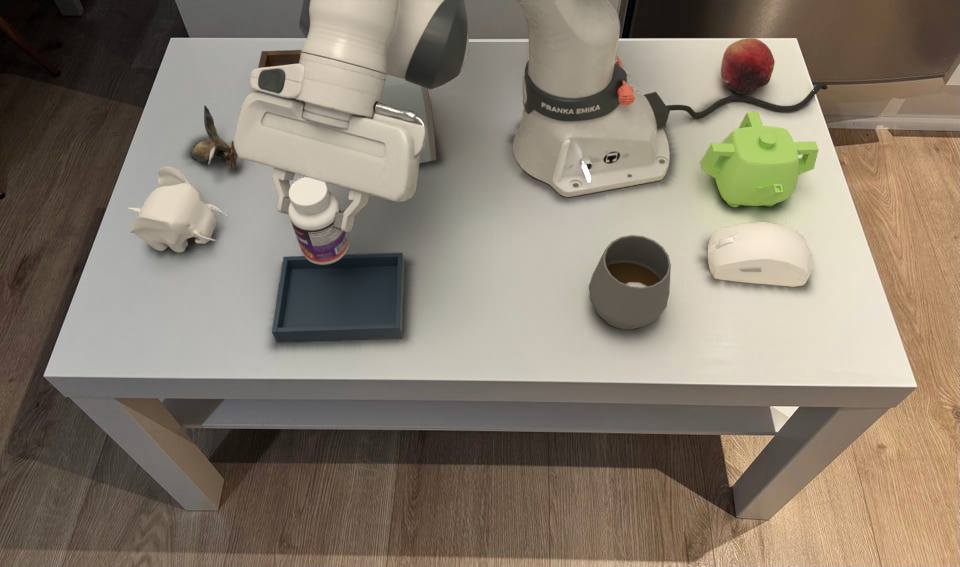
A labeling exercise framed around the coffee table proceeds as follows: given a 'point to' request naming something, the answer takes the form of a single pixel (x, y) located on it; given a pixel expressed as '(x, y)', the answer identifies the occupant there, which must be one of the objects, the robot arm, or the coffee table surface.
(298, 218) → the pill bottle
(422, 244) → the coffee table surface
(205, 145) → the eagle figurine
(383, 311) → the tray
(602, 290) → the cup
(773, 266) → the computer mouse
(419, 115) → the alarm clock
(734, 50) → the fruit
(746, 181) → the teapot
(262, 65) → the holder
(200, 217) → the elephant figurine
